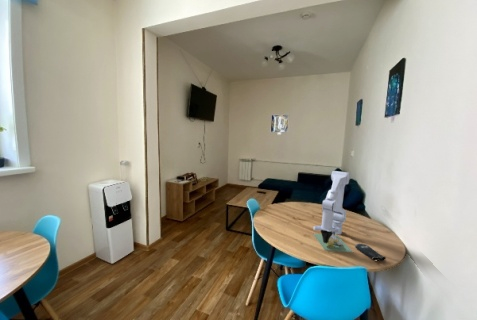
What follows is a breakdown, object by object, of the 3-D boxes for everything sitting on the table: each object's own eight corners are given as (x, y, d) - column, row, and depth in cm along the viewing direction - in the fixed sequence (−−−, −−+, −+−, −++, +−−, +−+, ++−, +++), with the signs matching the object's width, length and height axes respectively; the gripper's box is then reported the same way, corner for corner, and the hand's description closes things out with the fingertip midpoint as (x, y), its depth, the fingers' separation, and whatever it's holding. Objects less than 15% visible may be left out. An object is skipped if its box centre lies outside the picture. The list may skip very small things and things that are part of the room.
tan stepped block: (326, 244, 119) (326, 238, 118) (336, 245, 119) (337, 238, 118) (328, 247, 116) (328, 240, 115) (338, 248, 116) (339, 241, 115)
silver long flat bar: (327, 233, 130) (328, 231, 130) (331, 233, 130) (331, 232, 130) (338, 244, 115) (338, 243, 115) (342, 245, 115) (342, 243, 115)
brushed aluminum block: (328, 239, 125) (329, 237, 125) (336, 240, 125) (337, 237, 125) (332, 244, 119) (333, 241, 119) (341, 245, 119) (341, 242, 119)
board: (312, 235, 132) (313, 228, 132) (337, 237, 132) (338, 229, 131) (324, 252, 113) (325, 244, 112) (353, 254, 112) (354, 246, 111)
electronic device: (386, 263, 108) (364, 245, 122) (387, 255, 106) (365, 237, 120) (371, 267, 106) (350, 248, 120) (372, 258, 105) (351, 240, 119)
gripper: (317, 222, 112) (314, 245, 113) (343, 224, 111) (340, 246, 113) (313, 217, 119) (311, 238, 120) (337, 218, 118) (335, 240, 120)
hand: (325, 242), depth 117 cm, fingers closed
